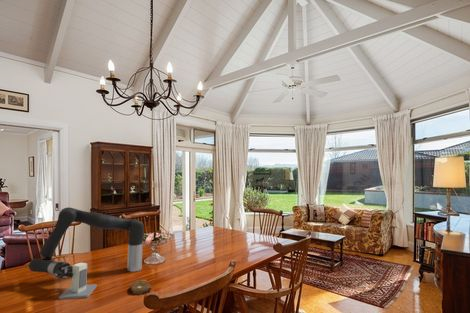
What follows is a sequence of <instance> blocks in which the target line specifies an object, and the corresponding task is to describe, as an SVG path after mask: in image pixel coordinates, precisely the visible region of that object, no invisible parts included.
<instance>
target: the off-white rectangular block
mask: <svg viewBox="0 0 470 313" xmlns="http://www.w3.org/2000/svg"><path fill="white" fill-rule="evenodd" d="M72 266H73V270H72V273H73V277H71V286H72V292H76V293H79V292H81V291H83V290H86V285H87V281H88V280H87V279H88V277H87V276H88V274H87V273H88V263H86V262H79V263H75V264H72Z"/></svg>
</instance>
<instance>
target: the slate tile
mask: <svg viewBox="0 0 470 313" xmlns="http://www.w3.org/2000/svg"><path fill="white" fill-rule="evenodd" d="M97 287H98V286H97V284H96V283H94V284H86V290H83V291H81V292H79V293H76V292H72V285H70V286H68V288H66V290H64V291H63V292H62V294H60V295H59V296H58V300H68V299H69V300H70V299H73V300H74V299H85V298H86V299H87V298H89V296H90V295H91V294H92V293H93V292H94V291H95V289H96V288H97Z"/></svg>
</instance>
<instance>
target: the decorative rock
mask: <svg viewBox="0 0 470 313" xmlns="http://www.w3.org/2000/svg"><path fill="white" fill-rule="evenodd" d="M129 287H130V290H131V292H132V293H133V294H134V295H139V296H142V295H145V293H148V292H149V290H152V289H153V287H152V284H150V283H149V282H147V280H146V279H145V278H143V279H137V280H135V281H133V282H132V283H131V284H130V285H129Z"/></svg>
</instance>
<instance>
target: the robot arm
mask: <svg viewBox="0 0 470 313" xmlns="http://www.w3.org/2000/svg"><path fill="white" fill-rule="evenodd" d="M73 222H74V223H80V224H81V223H82V224H86V225H88V226H90V227H93V228H96V229H102V230H121V231H127V232H128V233H129V238H128V241H127V242H128V243H127V244H128V246H127V272H131V273H132V272H139V271H141V270H142V269H143V268H142V266H143V243H144V242H143V240H144V232H145V231H144V230H145V228H144V227H145V225H144V223H143V222H142V221H140V220H139V219H130V218H122V217H118V216H114V215H110V214H104V213H97V212H93V211H92V212H90V211H86V210H81V209H77V208H73V207H71V206H70V207H65V208H62V209H61V210H60V211H59V214H58V217H57V221H56V223H55V225H54V228H53V230H52V232H51V233H50V234H49V236H48V237H47V238H46V240H45V242H44V243H43V245H42V247H41V249H40V251H39V255H40V256H42V258H33V259H31V260H30V262H29V264H28V269H29V270H30V271H31V272H37V273H46V274H49V275H53V276H54V277H55V278H58V279H63V278H67V277H68V278H72V277H73V273H72V270H73V265H71V264H70V263H69V262H66V261H61V260H54V259H53V255H54V253H55V251H56V249H57V248H58V246H59V243H60V242H61V240H62V238H63V236H64V235H65V233H66V231H67V230H68V229H69V228H70V226H71V225H72V224H73Z"/></svg>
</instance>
